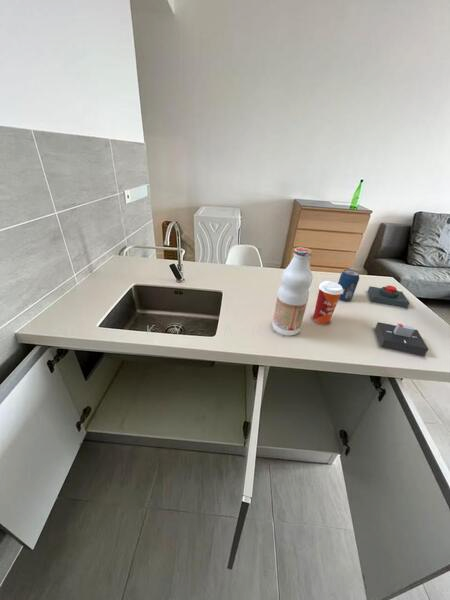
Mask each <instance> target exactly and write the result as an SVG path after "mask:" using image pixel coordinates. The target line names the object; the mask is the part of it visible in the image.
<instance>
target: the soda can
mask: <svg viewBox="0 0 450 600" xmlns="http://www.w3.org/2000/svg"><path fill="white" fill-rule="evenodd" d="M359 281H360V272H359V271H356V270H355V269H354V270H353V269H347V268H346V269H344V270H343V271H342V272H341V273H340V276H339V279H338V282H337V283H338V284H339V285H341V286H342V290H343V293H342V294H341V295H340V297H339V300H338V301H342V302H349V301H351V300H352V299H353V298H354V294H355V291H356V289H357V286H358V284H359Z"/></svg>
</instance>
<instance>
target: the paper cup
mask: <svg viewBox="0 0 450 600" xmlns="http://www.w3.org/2000/svg"><path fill="white" fill-rule="evenodd" d="M318 288H319V289H318V293H317V299H316V303H315V307H314V313H313V320H314V321H315V322H316V323H319V324H324V325H326V324H329V323H330V321H331V319H332V316H333V314H334V312H335V309H336V307H337V304H338V303H339V301H340V300H339V297H340V295H341V294H342V293H343V290H342V286H341V285H339V284H338V282H335V281H330V280H325V281H322V282H320V284H319V285H318Z"/></svg>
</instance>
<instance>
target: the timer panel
mask: <svg viewBox="0 0 450 600" xmlns="http://www.w3.org/2000/svg"><path fill="white" fill-rule="evenodd" d="M395 327H396V325H395V324H390V323H386V322H380V321H378V322H377V323H376V325H375V327H374V331H375V333H376V336H377V339H378V342H379V345H380V348H383V349H384V348H385V349H387V350H388V349H389V350H393V351H398V352H402V353H406V354H412V355H415V356H420V357H425V356H426V354H427V353H428V351H429V348H428V346H427V344H426V342H425V341H424V339H423V337H422V336H421V334H420V332H419V330H418V329H415V330H414V332H413V334H412V335H411V337H405V336H400V335H395V334H394V332H393V331H394V329H395Z"/></svg>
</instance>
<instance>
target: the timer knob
mask: <svg viewBox="0 0 450 600" xmlns="http://www.w3.org/2000/svg"><path fill="white" fill-rule="evenodd" d="M395 326H396V327H395V329H394V331H393V332H394V334H395V335H400V336H405V337H411V335H412V334H413V332H414V330H416V329H415V328H414V326H411V325H405V324H402V323H397V324H396V325H395Z"/></svg>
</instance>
